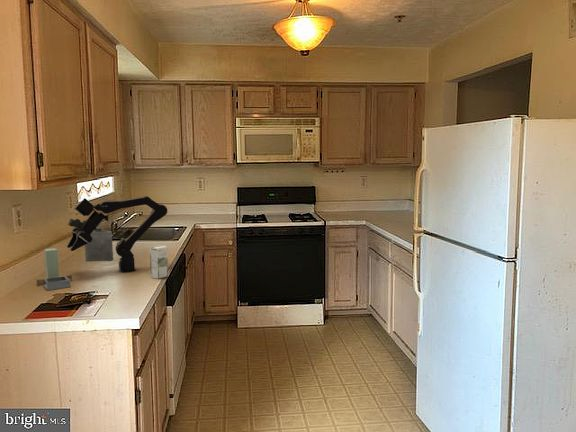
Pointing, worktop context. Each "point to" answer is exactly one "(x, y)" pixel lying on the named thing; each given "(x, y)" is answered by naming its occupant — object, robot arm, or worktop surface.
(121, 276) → the worktop surface
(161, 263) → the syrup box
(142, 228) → the robot arm
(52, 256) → the bar
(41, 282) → the brown wooden bar
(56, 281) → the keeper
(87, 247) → the flask
